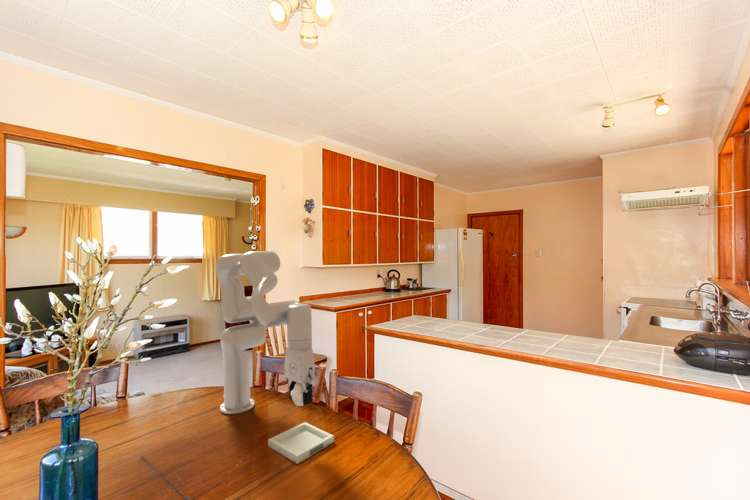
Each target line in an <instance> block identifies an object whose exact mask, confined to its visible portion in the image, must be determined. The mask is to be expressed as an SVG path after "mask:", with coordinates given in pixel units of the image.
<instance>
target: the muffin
mask: <svg viewBox="0 0 750 500" xmlns="http://www.w3.org/2000/svg"><path fill="white" fill-rule="evenodd" d="M303 392H304V388H303V384H300V383H296V384H295V387H294V389H293V390H292V391H291V396H292V399H291V400H292V401H293V403H294V405H295V406H297V407H303V406H304V405H303Z"/></svg>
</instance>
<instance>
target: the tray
mask: <svg viewBox="0 0 750 500" xmlns="http://www.w3.org/2000/svg"><path fill="white" fill-rule="evenodd" d="M333 443H335V435H333V434H331V433H329V432H327V431H325V430H323V429H320V428H318V427H317V426H314V425H312V424H310V423H308V422H307V421H306V422H305V421H304V422H302V423H300V424H298V425H296V426H293V427H291V428H290V429H288V430H285V431H283V432H281V433H279V434H277V435H275V436H273V437H271V438H268V440H267V445H268V447H269V448H270V449H272V450H274V451H276V452H277V453H278V454H280V455H282V456H284V457H285V458H287V459H288V460H290V461H292V462H293V463H295V464H299V463H301V462H303V461H305V460H306V459H308V458H310V457H312V456H313V455H315V454H317V453H319V452H320V451H321V449H322V450H323V449H325V448H327V447H329V446H331V445H332V444H333ZM328 445H329V446H328Z"/></svg>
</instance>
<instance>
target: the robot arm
mask: <svg viewBox="0 0 750 500" xmlns="http://www.w3.org/2000/svg"><path fill="white" fill-rule="evenodd" d="M280 268H281V259H280V257H279V256H278V254H277V253H276V252H274V251H272V250H259V251H258V250H257V251H255V250H253V251H248V252H247V251H246V252H245V253H228V254H224V255H221V256H219V257H218V258H217V260H216V262H215V273H216V279H217V281H218V284H219V287H220V292H221V293H220V295H221V309H222V317H223V320H224V321H225V322H226V323H229V324H235V323H241V322H248V321H249V323H246V324H240V325H235V326H230V327H228V328H226V329H224V330H223V331H222V332H221V333H220V337H219V341H220V347H221V351H222V358H223V362H222V363H223V394H222V397H223V403H221V404H220V406H219V411H220V412H221V413H223V414H226V415H236V414H241V413H245V412H247V411H249V410H251V409H253V407H254V406H255V400H254V399H253V398H251V374H250V373H251V367H250V365H251V364H250V363H251V362H250V359H249V356H247V354H246V353H245V351H244V350H247V349H252V348H255V347H259V346H262V345H264V343H265V342H266V340H267V328H275V327H280V326H284V325H285V326H286V331H287V333H286V334H287V335H286V336H287V337H286V338H287V341H286V342H287V347H286V349H285V353H284V354H285V356H284V371H283V374H284V377H285V379H286V381H287V386H288V391H289V392H288V398H289V400H293V399H292V396H291V391H292V390H293V389H294V387H295V384H296V383H300V384H303V388H304V392H303V406H307V405H309V404H311V403H313V390H314V388H315V387H316V385H317V384H318V383H319V380H318V378H317V376H316V372H315V371H316V366H315V358H314V357H315V356H314V350H313V345H312V344H313V341H312V340H313V337H312V336H313V335H312V331H313V330H312V325H313V324H312V306H311V305H310V304H309V303H301V302H299V301H296V300H287V301H285V300H283V301H277V302H272V303H271V302H270V303H268V302H267V300H266V298H265V297H264V296H265V295H267V294H269V293H270V292H272V290H274V289H275V288H276V286H277V284H278V279H279V278H278V277H277V275H276V273H277V272H278V271H279V270H280ZM238 276H245V277H246V278H247V279H248V281H249V283H250V284H251V286H252V287H253V290H252V293H251V296H246V295H245V286H244V284H243V282H242V281H241V280H240V279H239V278H238Z"/></svg>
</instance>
